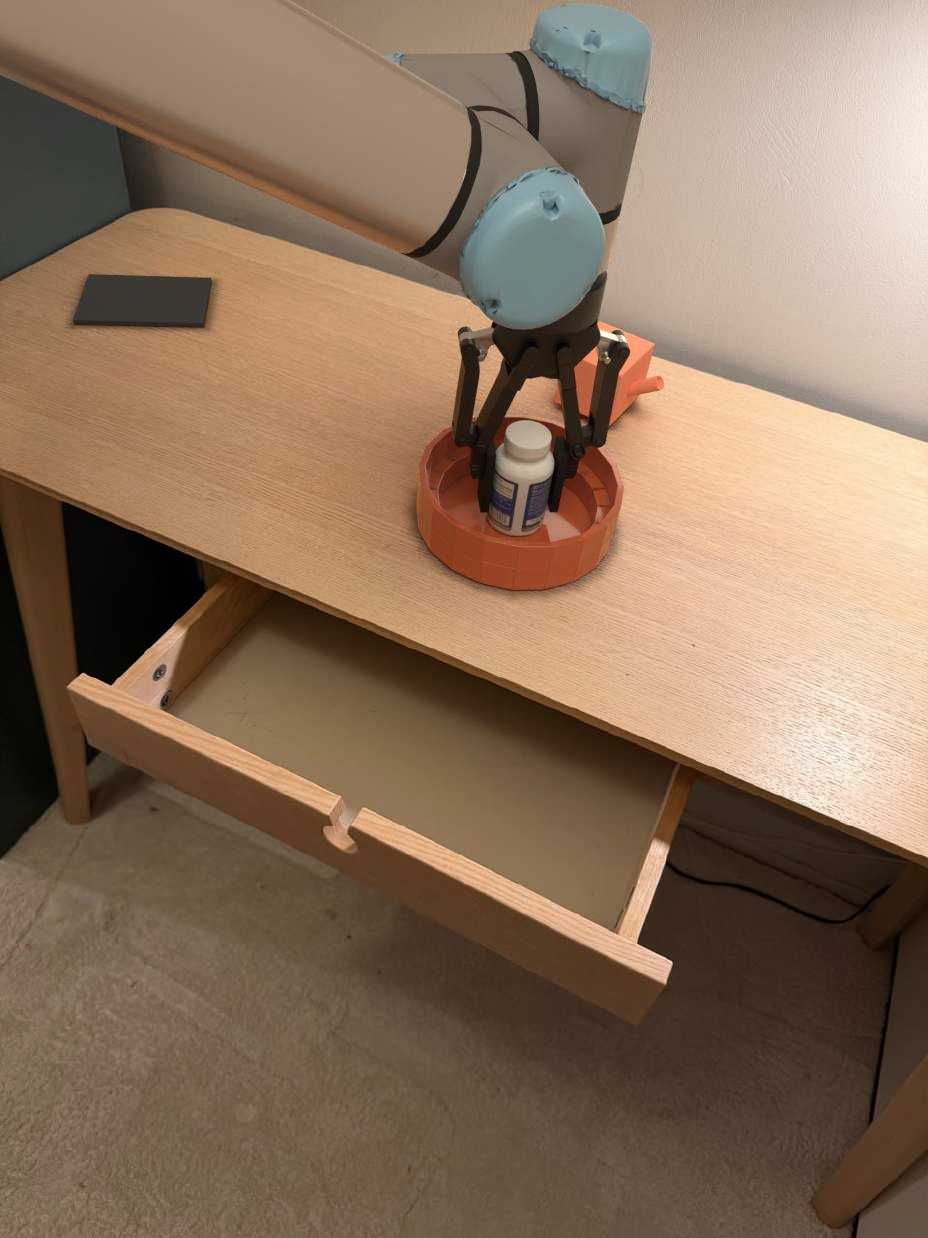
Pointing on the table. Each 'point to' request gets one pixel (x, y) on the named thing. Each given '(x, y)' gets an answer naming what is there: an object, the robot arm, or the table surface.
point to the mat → (144, 301)
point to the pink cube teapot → (628, 380)
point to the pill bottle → (521, 479)
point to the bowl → (516, 561)
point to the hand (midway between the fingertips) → (517, 502)
